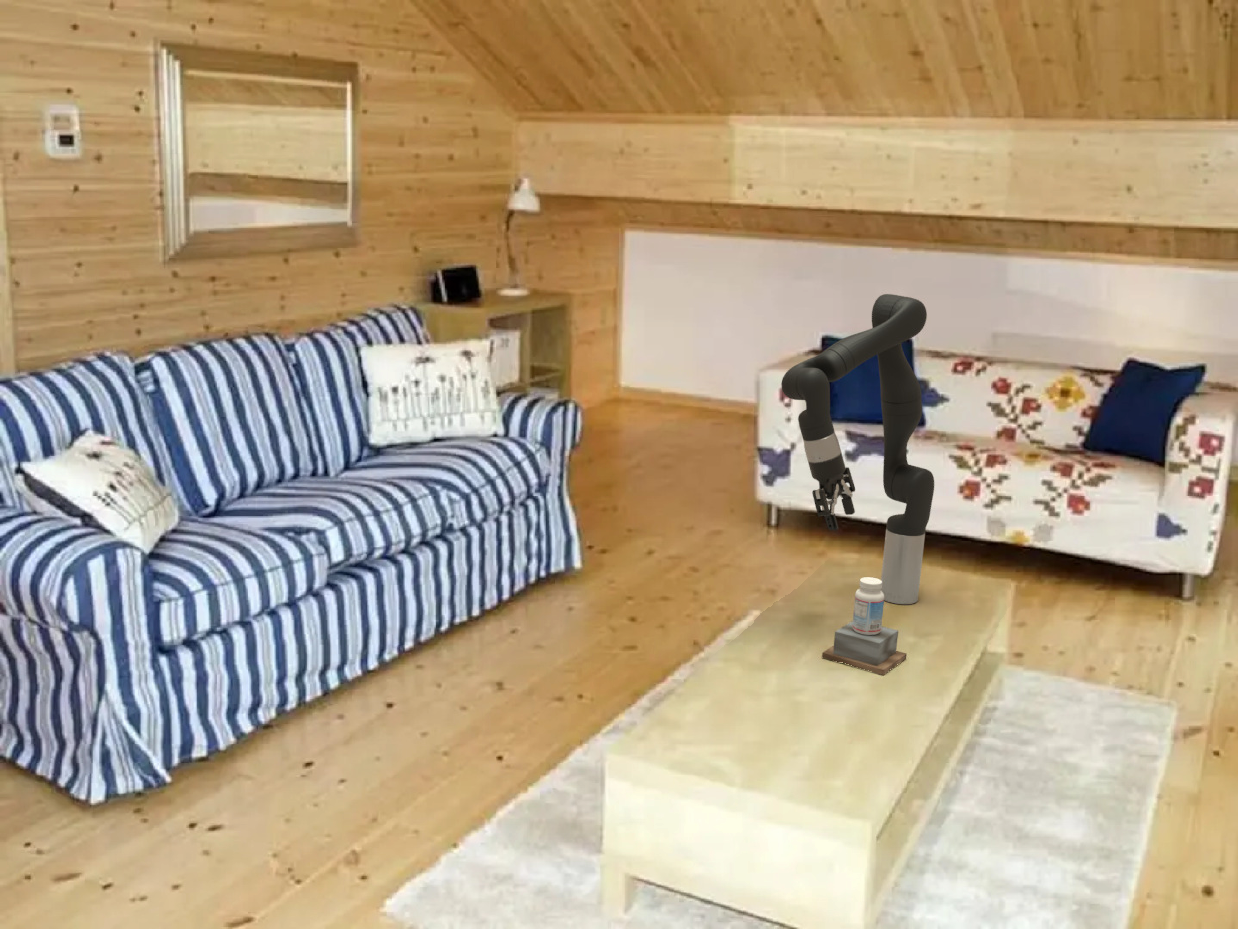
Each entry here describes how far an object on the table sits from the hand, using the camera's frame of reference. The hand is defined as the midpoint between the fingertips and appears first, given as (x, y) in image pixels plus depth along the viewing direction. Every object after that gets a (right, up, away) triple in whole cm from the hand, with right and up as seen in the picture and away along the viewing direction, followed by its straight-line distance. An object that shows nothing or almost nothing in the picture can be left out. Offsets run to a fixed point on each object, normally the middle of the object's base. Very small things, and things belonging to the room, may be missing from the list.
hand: (842, 521), depth 282 cm
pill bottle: (+3, -23, -12) cm, 26 cm away
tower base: (+3, -29, -11) cm, 31 cm away
